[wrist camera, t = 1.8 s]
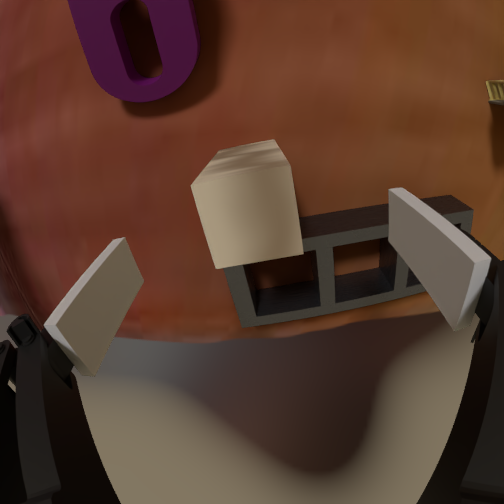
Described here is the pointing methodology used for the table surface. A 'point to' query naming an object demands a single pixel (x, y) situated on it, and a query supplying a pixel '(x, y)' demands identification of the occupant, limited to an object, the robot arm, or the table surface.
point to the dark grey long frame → (324, 282)
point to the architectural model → (496, 91)
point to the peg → (248, 205)
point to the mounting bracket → (117, 52)
